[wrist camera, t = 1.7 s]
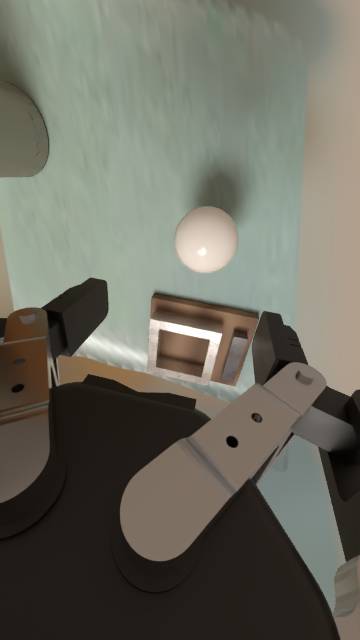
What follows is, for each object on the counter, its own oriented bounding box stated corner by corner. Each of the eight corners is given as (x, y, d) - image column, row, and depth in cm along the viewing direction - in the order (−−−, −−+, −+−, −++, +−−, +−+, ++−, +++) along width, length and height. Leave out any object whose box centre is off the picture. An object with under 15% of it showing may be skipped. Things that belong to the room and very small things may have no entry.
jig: (149, 360, 45) (142, 377, 41) (154, 293, 37) (145, 306, 33) (235, 380, 43) (235, 399, 39) (258, 314, 36) (260, 330, 32)
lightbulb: (245, 239, 31) (249, 266, 21) (200, 259, 33) (186, 292, 24) (226, 188, 28) (221, 195, 19) (179, 214, 31) (155, 231, 21)
